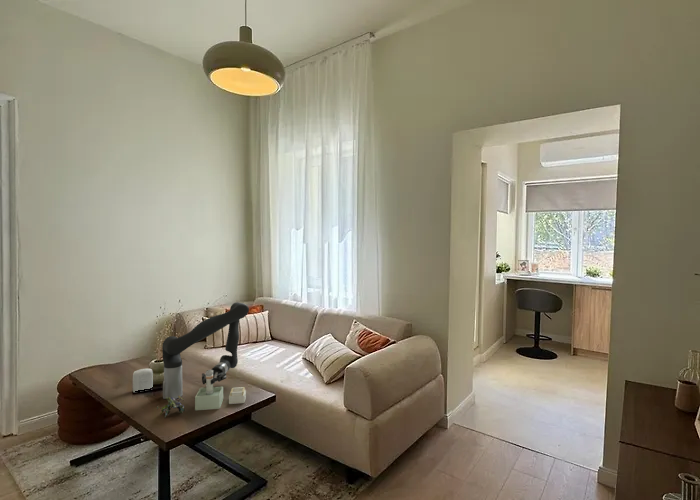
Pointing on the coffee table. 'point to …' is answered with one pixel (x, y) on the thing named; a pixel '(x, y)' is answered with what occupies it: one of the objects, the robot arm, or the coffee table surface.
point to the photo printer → (142, 379)
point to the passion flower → (173, 403)
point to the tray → (209, 399)
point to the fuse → (209, 382)
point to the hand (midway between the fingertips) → (207, 382)
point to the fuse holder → (237, 395)
